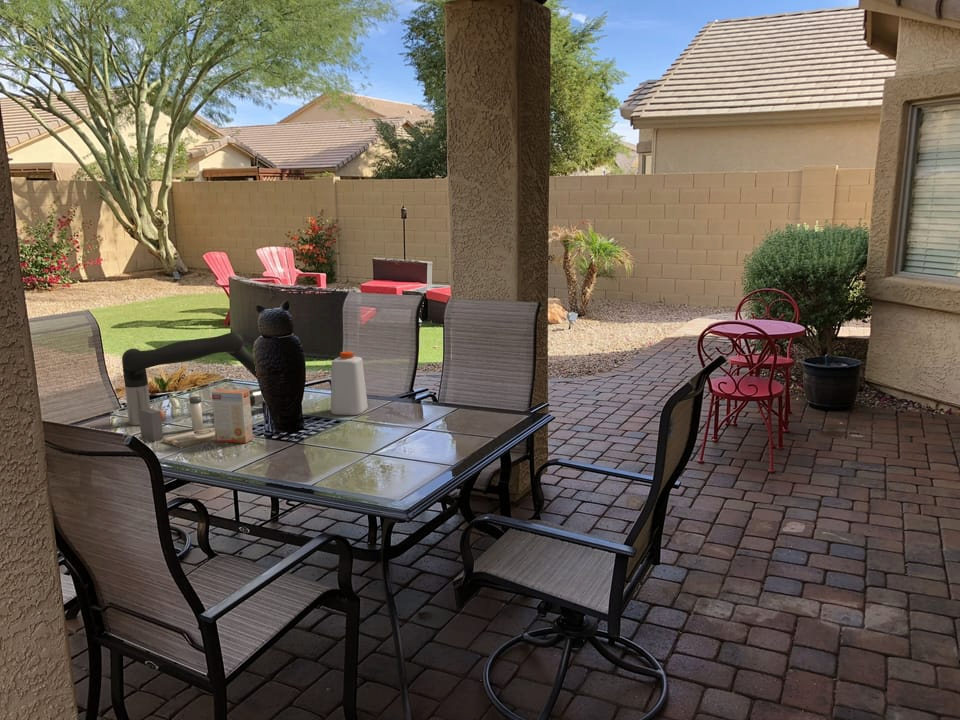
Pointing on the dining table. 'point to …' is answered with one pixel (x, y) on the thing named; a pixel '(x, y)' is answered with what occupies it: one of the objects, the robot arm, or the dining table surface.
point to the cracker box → (232, 416)
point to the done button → (162, 415)
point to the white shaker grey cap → (196, 412)
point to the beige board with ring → (191, 437)
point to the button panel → (150, 424)
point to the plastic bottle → (348, 385)
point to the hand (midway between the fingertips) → (219, 406)
